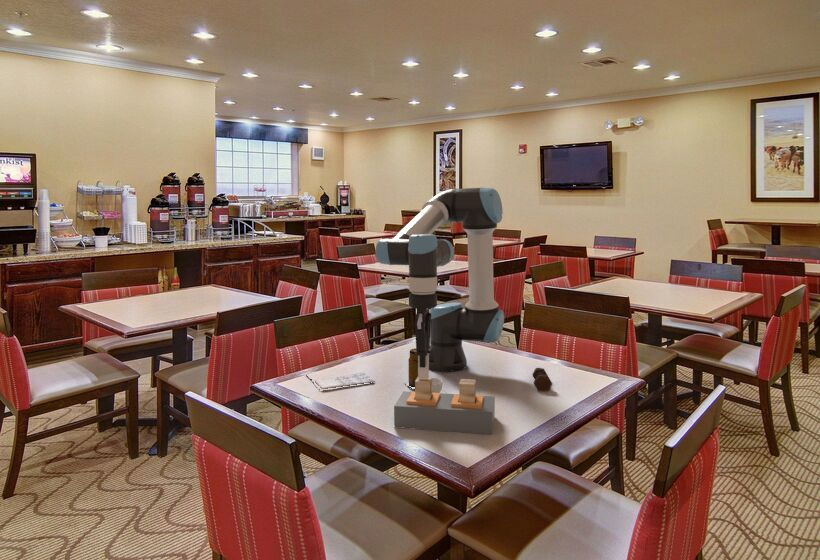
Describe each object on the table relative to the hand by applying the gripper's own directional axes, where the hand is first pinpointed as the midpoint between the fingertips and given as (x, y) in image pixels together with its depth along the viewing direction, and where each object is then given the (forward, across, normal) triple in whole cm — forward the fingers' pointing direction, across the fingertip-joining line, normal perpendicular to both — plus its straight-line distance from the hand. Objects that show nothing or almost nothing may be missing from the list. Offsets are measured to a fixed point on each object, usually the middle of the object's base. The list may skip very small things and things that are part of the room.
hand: (423, 377), depth 151 cm
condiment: (+13, -29, -7) cm, 33 cm away
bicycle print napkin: (+13, -32, -35) cm, 49 cm away
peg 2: (+7, 0, +12) cm, 14 cm away
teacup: (+13, -21, -1) cm, 25 cm away
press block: (+12, 0, +6) cm, 14 cm away
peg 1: (+7, 0, 0) cm, 7 cm away
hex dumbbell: (+13, -38, +33) cm, 52 cm away
